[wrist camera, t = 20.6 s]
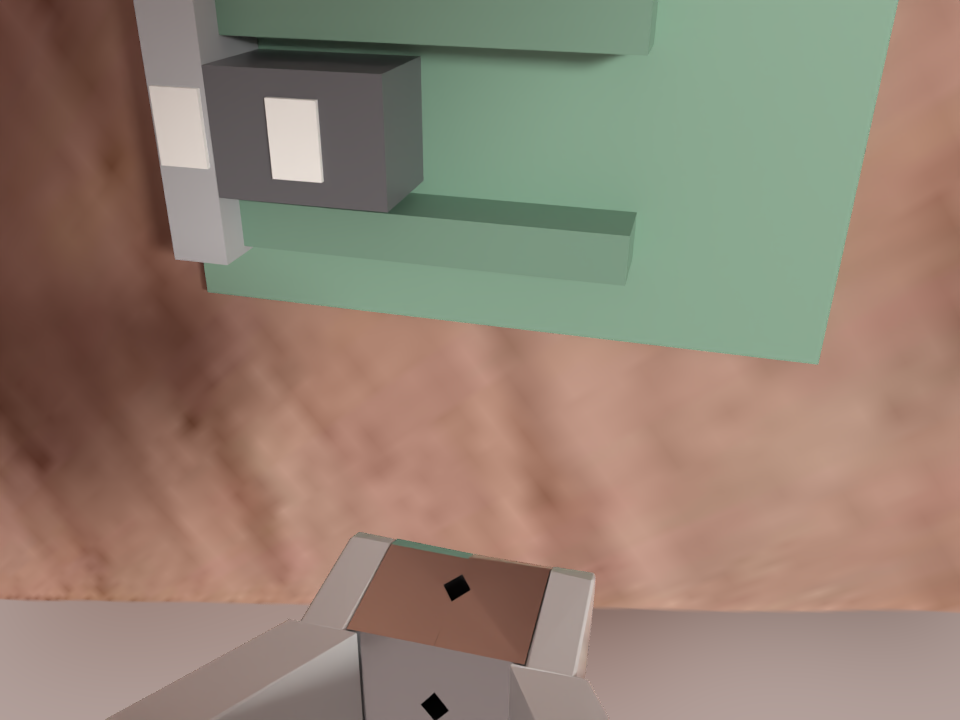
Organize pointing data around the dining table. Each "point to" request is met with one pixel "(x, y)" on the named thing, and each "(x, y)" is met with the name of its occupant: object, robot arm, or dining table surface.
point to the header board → (557, 163)
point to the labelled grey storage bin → (316, 127)
